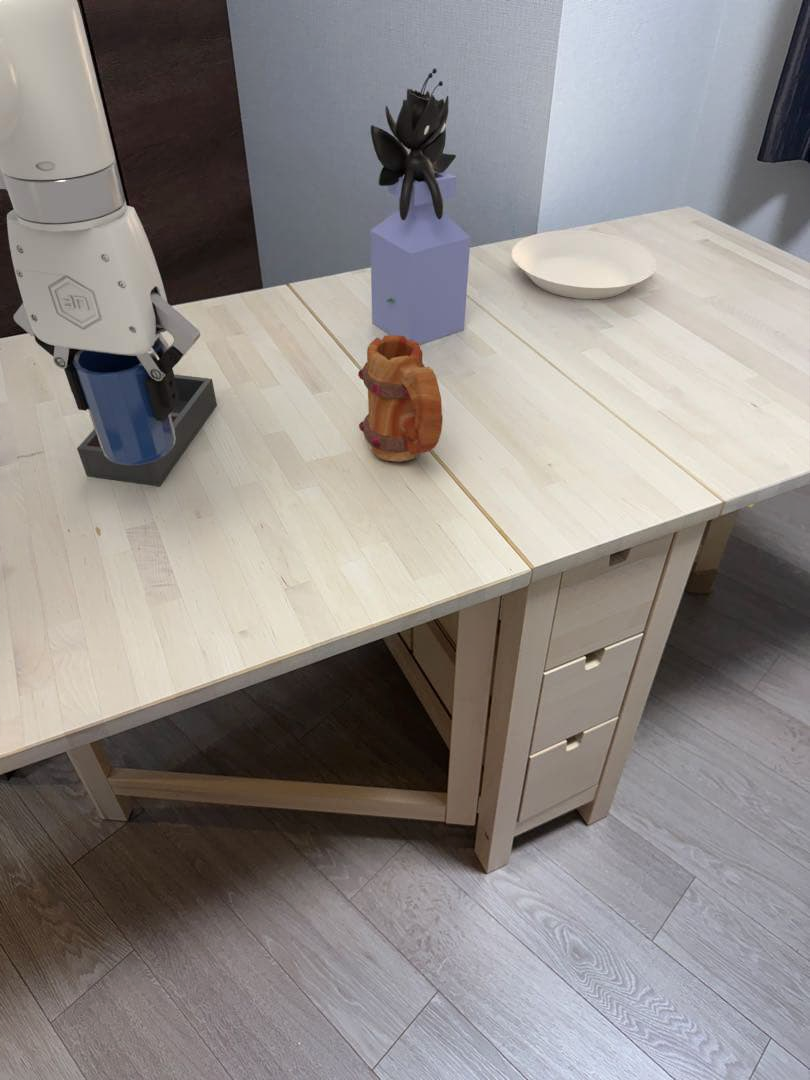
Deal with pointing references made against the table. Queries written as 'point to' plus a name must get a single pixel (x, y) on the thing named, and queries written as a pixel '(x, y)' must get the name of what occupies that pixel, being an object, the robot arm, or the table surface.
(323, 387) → the table surface
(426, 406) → the mug
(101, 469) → the holder
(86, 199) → the robot arm
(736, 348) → the table surface
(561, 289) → the bowl
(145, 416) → the cup
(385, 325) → the vase
